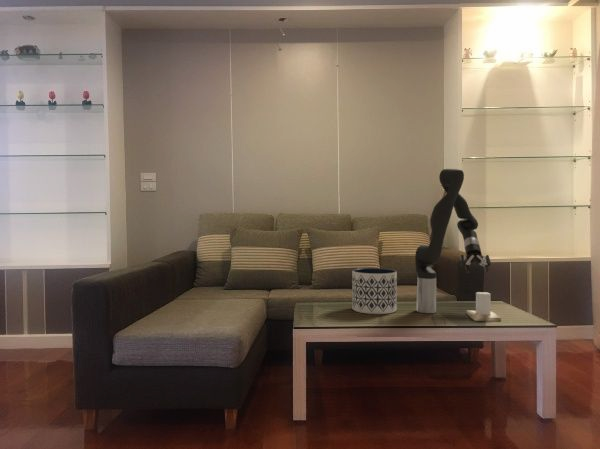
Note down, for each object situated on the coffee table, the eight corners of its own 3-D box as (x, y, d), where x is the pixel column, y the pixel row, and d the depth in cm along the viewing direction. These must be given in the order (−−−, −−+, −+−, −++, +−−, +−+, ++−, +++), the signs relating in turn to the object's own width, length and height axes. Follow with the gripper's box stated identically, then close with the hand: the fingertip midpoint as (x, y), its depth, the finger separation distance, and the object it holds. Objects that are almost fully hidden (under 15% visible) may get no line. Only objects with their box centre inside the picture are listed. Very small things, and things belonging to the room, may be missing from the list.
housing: (478, 314, 236) (478, 293, 236) (475, 312, 242) (475, 292, 241) (490, 315, 236) (490, 294, 235) (487, 312, 241) (487, 292, 241)
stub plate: (474, 320, 231) (474, 308, 231) (466, 313, 247) (466, 302, 247) (501, 321, 230) (501, 309, 230) (491, 313, 246) (491, 302, 246)
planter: (346, 312, 249) (346, 271, 249) (360, 304, 269) (360, 267, 269) (390, 316, 240) (390, 274, 239) (401, 308, 260) (401, 269, 259)
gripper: (459, 242, 258) (464, 267, 247) (487, 243, 257) (494, 267, 246) (457, 252, 264) (461, 276, 252) (485, 252, 262) (490, 277, 251)
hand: (477, 272), depth 249 cm, fingers open, 8 cm apart
